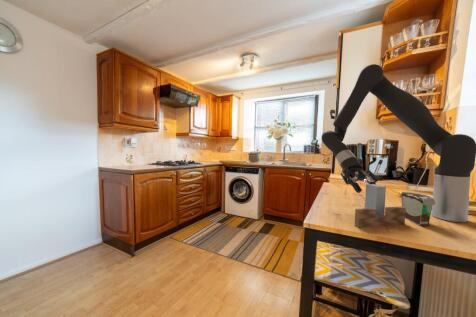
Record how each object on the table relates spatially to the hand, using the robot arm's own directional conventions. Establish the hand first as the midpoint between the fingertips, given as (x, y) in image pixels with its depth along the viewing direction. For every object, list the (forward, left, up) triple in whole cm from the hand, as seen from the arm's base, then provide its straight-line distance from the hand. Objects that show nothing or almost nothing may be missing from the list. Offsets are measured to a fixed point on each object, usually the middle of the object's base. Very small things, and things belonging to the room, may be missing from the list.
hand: (368, 191), depth 74 cm
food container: (-14, +9, -10) cm, 19 cm away
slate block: (0, +3, -10) cm, 10 cm away
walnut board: (+4, +9, -10) cm, 14 cm away
